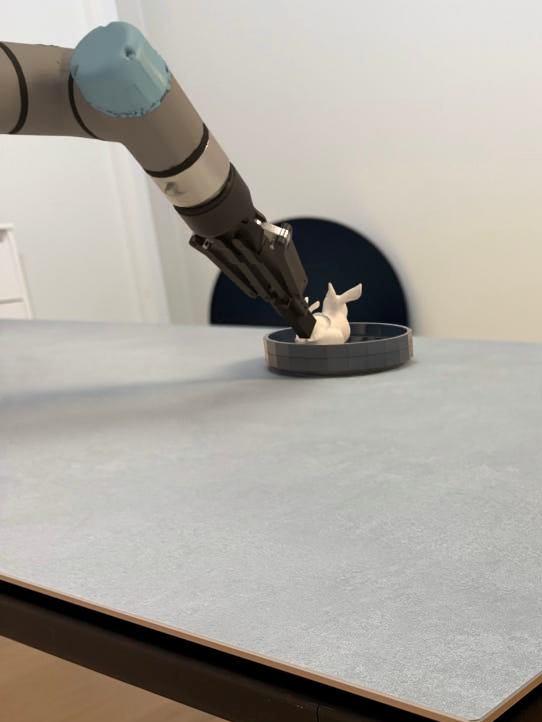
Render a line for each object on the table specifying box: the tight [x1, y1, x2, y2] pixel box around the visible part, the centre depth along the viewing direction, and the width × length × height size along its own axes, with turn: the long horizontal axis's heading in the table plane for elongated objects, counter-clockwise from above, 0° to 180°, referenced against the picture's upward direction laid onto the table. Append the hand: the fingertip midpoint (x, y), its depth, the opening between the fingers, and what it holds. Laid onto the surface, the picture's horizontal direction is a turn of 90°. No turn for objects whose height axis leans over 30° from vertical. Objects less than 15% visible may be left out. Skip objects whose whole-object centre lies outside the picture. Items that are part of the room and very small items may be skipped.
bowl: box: [262, 322, 414, 377], centre depth 125 cm, size 19×19×4 cm
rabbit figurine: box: [295, 282, 363, 344], centre depth 122 cm, size 12×8×10 cm, turn 148°
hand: (308, 329), depth 118 cm, fingers closed
